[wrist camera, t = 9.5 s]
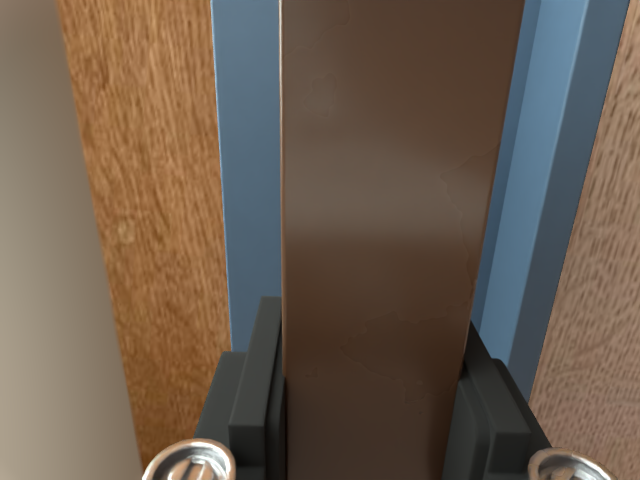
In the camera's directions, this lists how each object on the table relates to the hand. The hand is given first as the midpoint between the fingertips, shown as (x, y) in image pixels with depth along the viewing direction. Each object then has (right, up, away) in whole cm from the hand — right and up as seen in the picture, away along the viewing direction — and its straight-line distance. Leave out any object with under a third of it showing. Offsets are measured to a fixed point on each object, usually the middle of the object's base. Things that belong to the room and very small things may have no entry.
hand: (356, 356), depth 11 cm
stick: (0, 0, 0) cm, 0 cm away
